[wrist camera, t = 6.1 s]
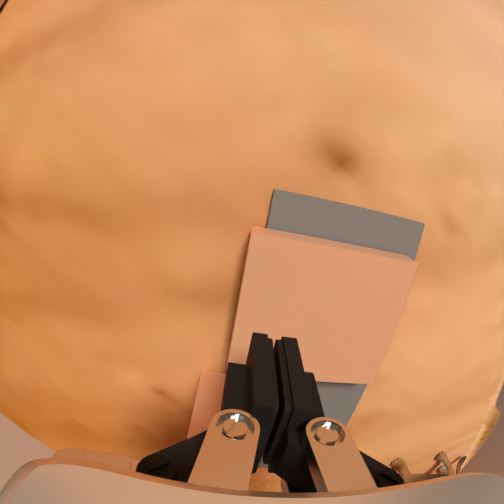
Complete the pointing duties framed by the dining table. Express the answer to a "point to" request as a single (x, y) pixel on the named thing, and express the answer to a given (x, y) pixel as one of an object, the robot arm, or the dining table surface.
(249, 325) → the tile
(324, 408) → the felt mat
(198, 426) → the tile
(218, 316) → the dining table surface
